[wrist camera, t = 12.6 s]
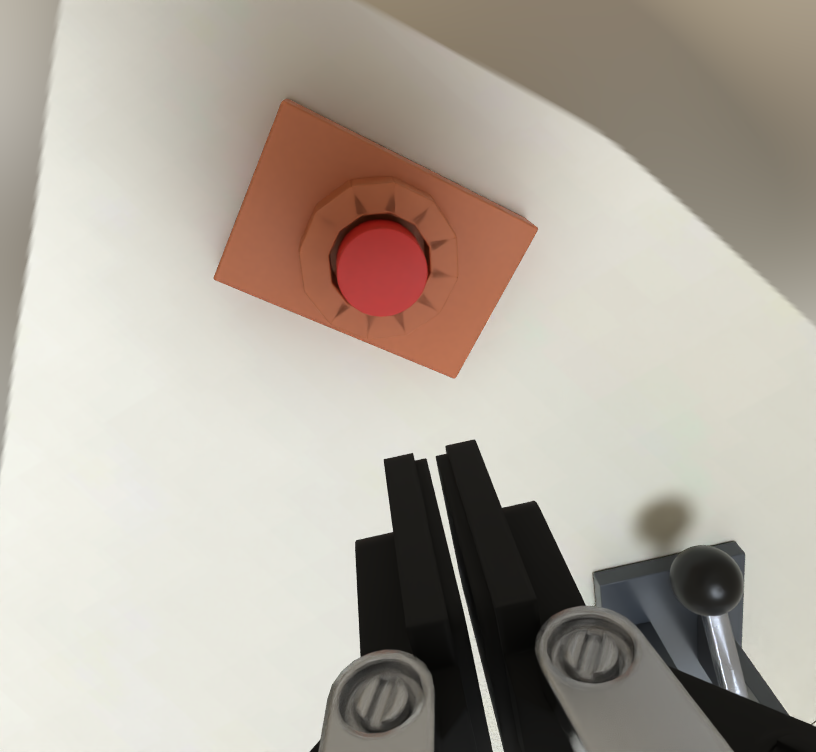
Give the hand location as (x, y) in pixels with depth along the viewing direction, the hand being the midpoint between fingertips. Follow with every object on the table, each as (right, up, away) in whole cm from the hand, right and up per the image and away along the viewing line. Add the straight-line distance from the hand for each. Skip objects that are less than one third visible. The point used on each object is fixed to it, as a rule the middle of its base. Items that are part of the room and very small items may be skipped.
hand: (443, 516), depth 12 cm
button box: (-2, +9, +19) cm, 21 cm away
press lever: (+16, -13, +25) cm, 32 cm away
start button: (-2, +7, +16) cm, 18 cm away
